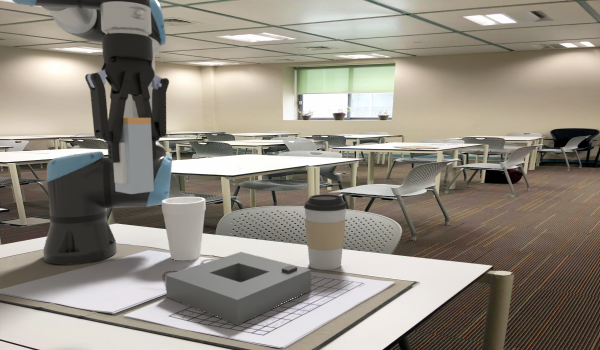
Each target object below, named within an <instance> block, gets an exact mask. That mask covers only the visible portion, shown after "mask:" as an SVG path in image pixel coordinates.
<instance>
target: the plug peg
mask: <svg viewBox="0 0 600 350" xmlns="http://www.w3.org/2000/svg"><path fill="white" fill-rule="evenodd" d="M119 142H124V143H125V150H126V170H127V183H126V184H121V183H115V190H116V191H117V192H122V193H128V194H137V193H144V192H152V191H154V182H153V159H152V136H151V118H123V125H122V132H121V139H120V141H119Z"/></svg>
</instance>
